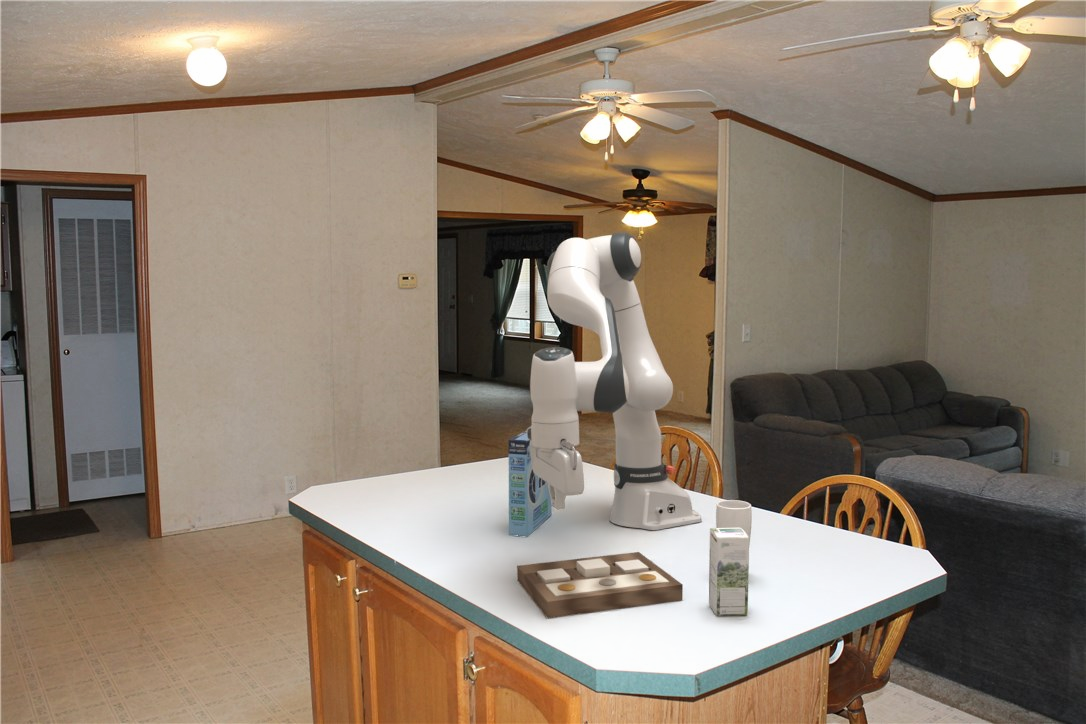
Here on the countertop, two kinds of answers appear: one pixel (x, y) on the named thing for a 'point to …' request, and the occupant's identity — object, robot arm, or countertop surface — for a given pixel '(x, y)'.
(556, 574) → the button
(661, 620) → the countertop surface
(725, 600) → the syrup box
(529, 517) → the gum box
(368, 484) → the countertop surface
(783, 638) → the countertop surface
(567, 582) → the button board
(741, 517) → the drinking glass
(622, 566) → the button
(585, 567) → the button middle
